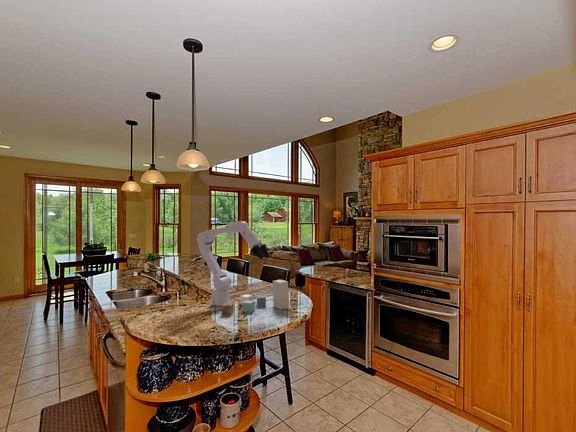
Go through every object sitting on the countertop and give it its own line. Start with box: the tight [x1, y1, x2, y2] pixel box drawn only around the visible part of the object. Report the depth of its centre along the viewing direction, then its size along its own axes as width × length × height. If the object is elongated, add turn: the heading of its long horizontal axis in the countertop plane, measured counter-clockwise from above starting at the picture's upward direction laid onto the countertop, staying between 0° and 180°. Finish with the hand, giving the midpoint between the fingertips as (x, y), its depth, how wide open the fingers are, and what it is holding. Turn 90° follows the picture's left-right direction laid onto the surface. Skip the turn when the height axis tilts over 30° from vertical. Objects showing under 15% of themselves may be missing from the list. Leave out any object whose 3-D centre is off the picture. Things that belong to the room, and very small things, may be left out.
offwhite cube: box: [239, 293, 254, 306], centre depth 174 cm, size 5×5×5 cm
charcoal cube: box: [256, 295, 267, 308], centre depth 171 cm, size 5×5×5 cm
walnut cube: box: [221, 302, 235, 316], centre depth 156 cm, size 5×5×5 cm
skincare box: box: [272, 279, 290, 310], centre depth 167 cm, size 8×6×15 cm
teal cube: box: [241, 300, 256, 314], centre depth 161 cm, size 5×5×5 cm
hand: (265, 257), depth 163 cm, fingers open, 7 cm apart
